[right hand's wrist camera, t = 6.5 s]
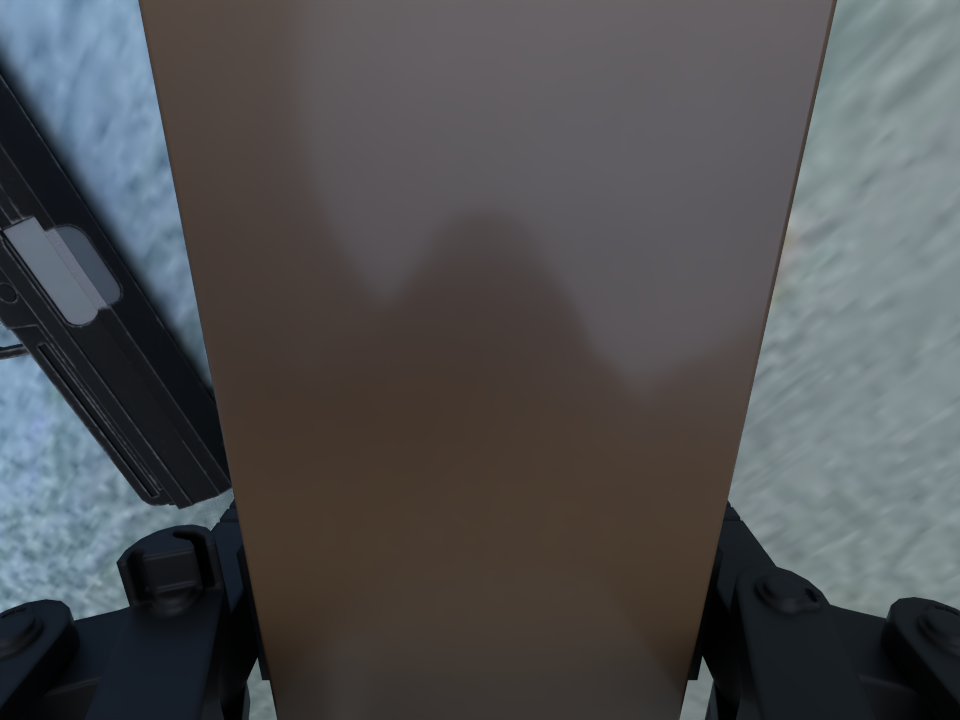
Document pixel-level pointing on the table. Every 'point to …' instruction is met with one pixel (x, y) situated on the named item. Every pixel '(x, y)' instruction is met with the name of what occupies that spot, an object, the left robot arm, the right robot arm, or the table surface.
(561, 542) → the beam
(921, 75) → the table surface
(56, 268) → the handgun
